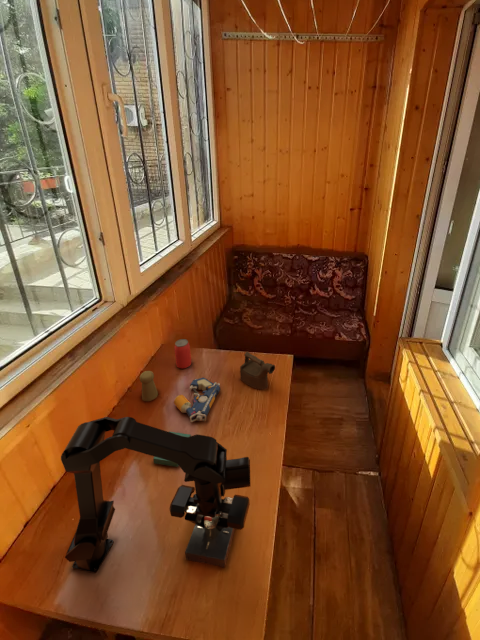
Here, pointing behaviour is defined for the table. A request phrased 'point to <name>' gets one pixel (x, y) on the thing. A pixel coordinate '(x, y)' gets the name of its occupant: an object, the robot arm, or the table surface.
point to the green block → (167, 462)
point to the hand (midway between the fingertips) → (212, 527)
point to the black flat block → (209, 547)
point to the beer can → (182, 353)
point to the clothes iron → (255, 371)
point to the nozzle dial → (211, 526)
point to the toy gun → (198, 399)
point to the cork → (148, 386)
